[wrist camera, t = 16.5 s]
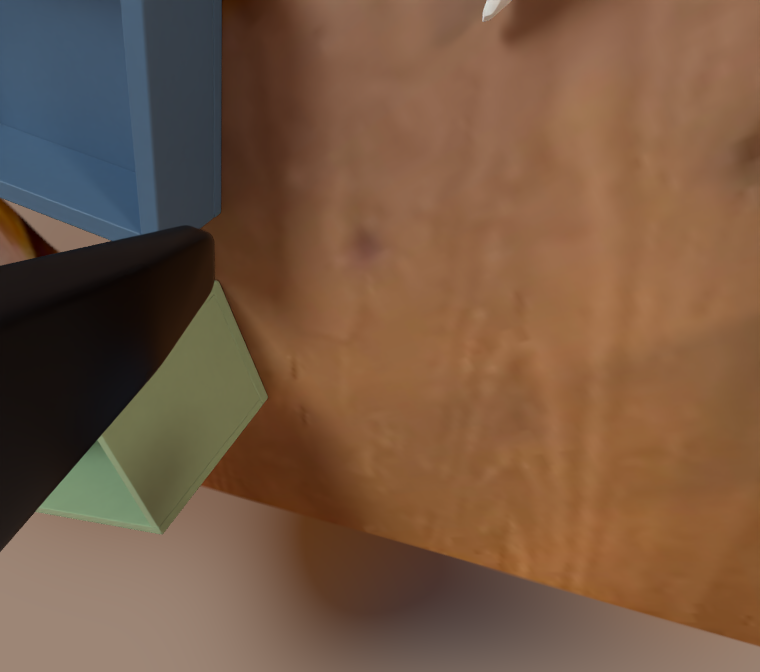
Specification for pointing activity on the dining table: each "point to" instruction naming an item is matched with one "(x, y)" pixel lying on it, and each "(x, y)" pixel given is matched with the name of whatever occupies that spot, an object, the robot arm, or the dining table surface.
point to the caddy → (168, 430)
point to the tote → (112, 112)
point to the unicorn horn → (493, 8)
